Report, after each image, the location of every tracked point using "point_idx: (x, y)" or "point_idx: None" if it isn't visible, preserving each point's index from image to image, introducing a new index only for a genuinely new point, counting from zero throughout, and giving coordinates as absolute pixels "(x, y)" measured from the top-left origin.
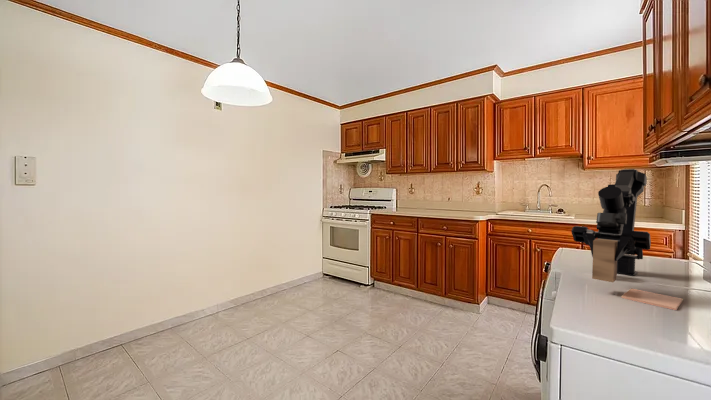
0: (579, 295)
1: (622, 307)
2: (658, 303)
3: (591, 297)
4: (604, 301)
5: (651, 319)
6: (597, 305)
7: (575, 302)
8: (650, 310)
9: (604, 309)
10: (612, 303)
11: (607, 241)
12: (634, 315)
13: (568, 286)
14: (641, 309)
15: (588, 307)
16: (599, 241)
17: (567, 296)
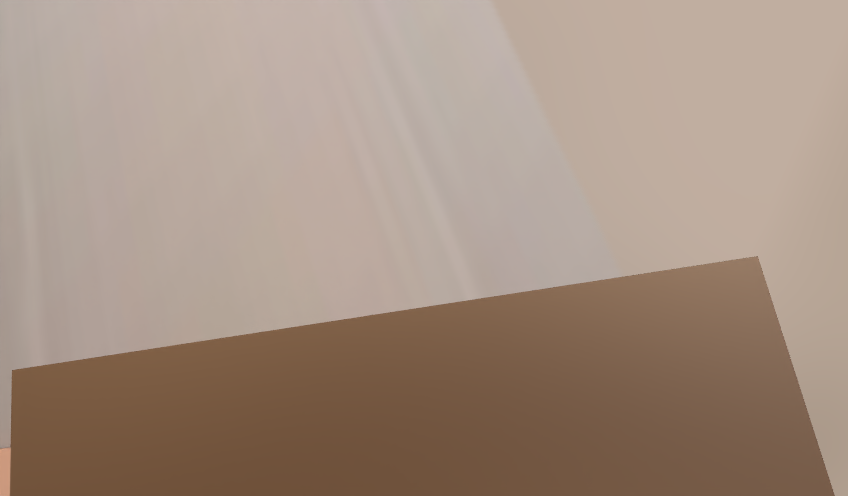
0: (470, 194)
1: (198, 178)
2: (7, 468)
3: (403, 222)
4: (315, 207)
5: (29, 93)
6: (315, 83)
7: (419, 27)
8: (53, 278)
9: (263, 44)
10: (266, 209)
11: (321, 483)
12: (114, 83)
13: None
14: (101, 246)
15: (335, 3)
16: (552, 288)
17: (504, 101)
